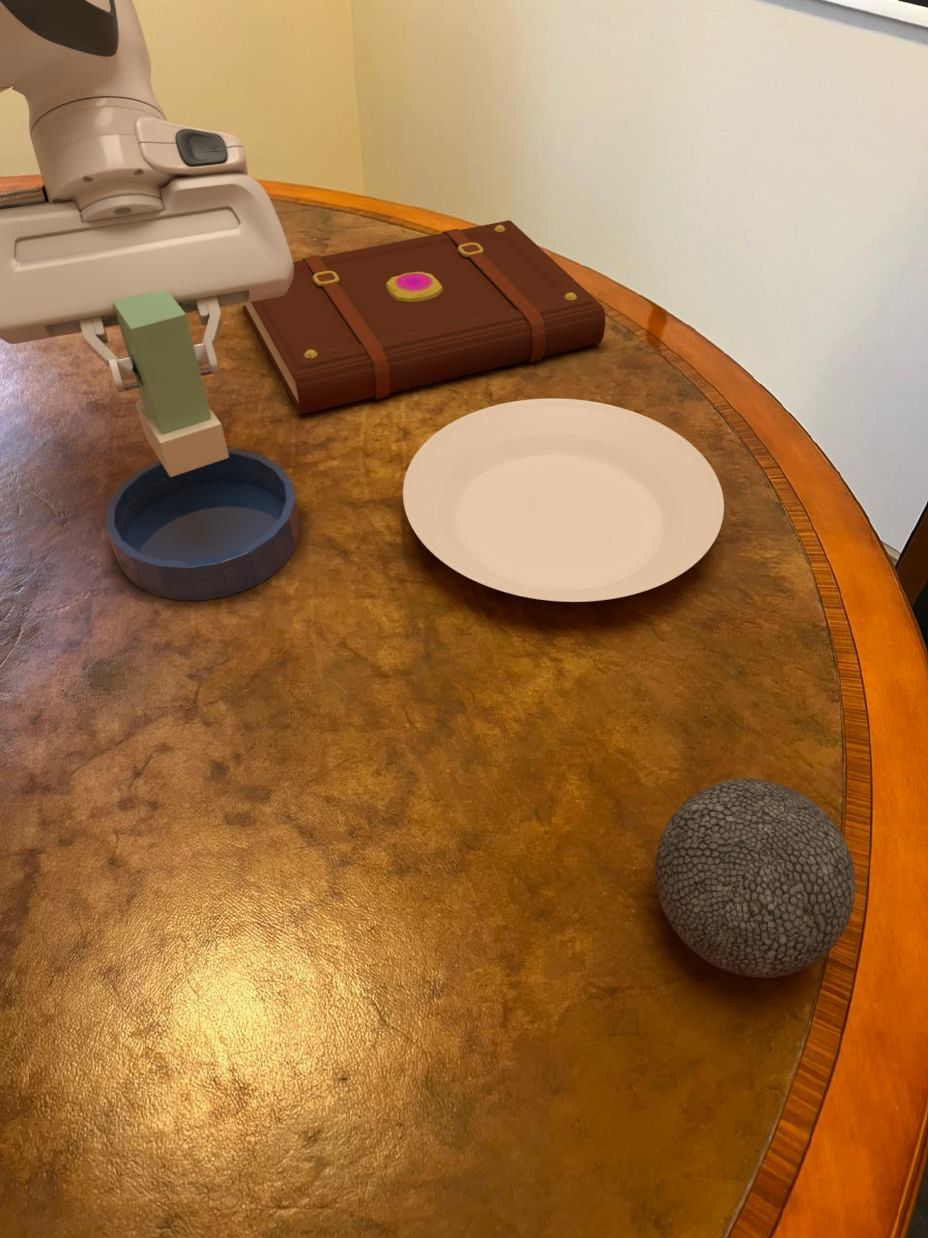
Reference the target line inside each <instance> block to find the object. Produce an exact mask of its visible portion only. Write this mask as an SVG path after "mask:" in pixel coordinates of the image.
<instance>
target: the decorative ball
mask: <svg viewBox="0 0 928 1238" xmlns="http://www.w3.org/2000/svg"><path fill="white" fill-rule="evenodd" d="M656 848H657V849H656V854H655V861H654V862H655V864H654V878H655V879H654V880H655V888H656V893H657V897H658V901H659V904H660V906H661V908H662V911H663V913H664V915H665V917H666V919H667V921H668V923H669V924H670V926H671V928H672V929H673V931H674V932H675V933H676V935H677V936H678V937H679V938H680V939H681V941H683V943H684V944H685V945H686V946H687V947H688V948H689V949H690V950H691V951H693V952H694V953H695V954H696V955H698V956H699V957H700V958H702V959H703V960H705V961H706V962H708V963H709V964H711V965H712V966H715V967H716V968H719V969H721V970H723V971H727V972H729V973H731V974H736V975H738V976H744V977H750V978H758V979H759V978H761V979H767V978H768V979H769V978H778V977H783V976H787V975H790V974H794V973H796V972H800V971H801V970H804V969H806V968H808V967H810V966H812V965H813V964H815V963H817V962H818V961H820V960H821V959H822V958H823V957H824V956H825V955H827V954H828V953H829V952H830V951H831V950H832V949H833V948H834V947H835V946H836V944H837V943H838V942H839V940H840V938H841V937H842V936H843V934H844V932H845V931H846V929H847V927H848V925H849V922H850V920H851V917H852V913H853V910H854V905H855V899H856V898H855V897H856V875H855V868H854V861H853V858H852V855H851V852H850V849H849V846H848V843H847V842H846V840H845V837H844V836H843V834H842V833H841V831H840V829H839V828H838V827H837V825H836V824H835V822H834V821H833V820H832V818H830V817H829V815H828V814H827V813H826V812H825V811H824V810H823V809H822V808H821V807H820V806H819V805H818V804H817V803H815V802H814V801H812V800H811V799H810V798H808V797H807V796H806V795H804V794H802V793H800V792H799V791H797V790H795V789H793V788H790V787H788V786H786V785H783V784H780V783H777V782H774V781H770V780H765V779H760V778H748V777H747V778H746V777H745V778H733V779H727V780H724V781H721V782H718V783H717V782H716V783H714V784H712V785H710V786H708V787H705V788H703V789H701V790H700V791H698V792H696V793H694V794H693V795H692V796H690V797H689V798H688V799H686V800H685V801H684V802H683V803H682V804H681V805H680V806H679V807H678V808H677V809H676V811H675V812H674V813H673V814H672V816H671V817H670V818H669V820H668V821H667V822H666V825H665V827H664V829H663V831H662V832H661V836H660V838H659V841H658V844H657V847H656Z"/></svg>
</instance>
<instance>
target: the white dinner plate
mask: <svg viewBox="0 0 928 1238" xmlns="http://www.w3.org/2000/svg"><path fill="white" fill-rule="evenodd" d="M402 487H403V488H402V497H403V498H402V501H403V505H404V506H403V508H404V511H405V514H406V517H407V520H408V522H409V524H410V527H411V528H412V530H413V531H414V533H415V534H416V536H417V537H418V539H419V540H420V541H421V543H422V544H423V545H424V546H425V547H426V549H427V550H429V551H430V552H431V553H432V554H433V555H434V556H435V557H436V558H437V559H439V560H440V561H441V562H442V563H444V564H445V565H446V566H448V567H449V568H450V569H453V570H454V571H455V572H456V573H459V574H460V575H462V576H464V577H466V578H468V579H470V580H472V581H475V582H476V583H479V584H481V585H484V586H486V587H488V588H492V589H494V590H497V591H500V592H504V593H507V594H511V595H513V596H519V597H523V598H528V599H535V600H543V601H550V602H563V603H565V602H566V603H567V602H570V603H578V602H579V603H581V602H582V603H583V602H584V603H585V602H598V601H605V600H613V599H619V598H623V597H628V596H632V595H636V594H639V593H643V592H646V591H649V590H652V589H655V588H657V587H660V586H662V585H664V584H666V583H668V582H670V581H672V580H673V579H676V578H677V577H679V576H680V575H682V574H684V573H685V572H687V571H688V570H689V569H691V568H692V567H693V566H694V565H695V564H697V563H698V562H699V561H700V560H701V559H702V558H703V557H704V556H705V555H706V554H707V552H708V551H709V550H710V548H711V547H712V546H713V544H714V543H715V541H716V539H717V537H718V535H719V533H720V530H721V527H722V523H723V521H724V512H725V500H724V494H723V489H722V487H721V483H720V481H719V478H718V477H717V474H716V472H715V471H714V469H713V467H712V466H711V464H710V463H709V461H708V460H707V459H706V457H704V455H703V454H702V452H700V451H699V450H698V449H697V448H696V447H695V446H694V445H693V444H692V443H690V441H688V440H687V439H686V438H685V437H683V436H681V434H679V433H677V432H676V431H674V430H673V429H672V428H670V427H667V426H666V425H665V424H662V423H661V422H658V421H656V420H654V419H653V418H650V417H648V416H645V415H643V414H640V413H638V412H635V411H632V410H629V409H626V408H622V407H619V406H615V405H611V404H607V403H602V402H597V401H591V400H584V399H575V398H574V399H573V398H531V399H530V398H529V399H522V400H515V401H509V402H504V403H499V404H495V405H492V406H488V407H485V408H481V409H479V410H476V411H474V412H471V413H468V414H466V415H464V416H461V417H459V418H457V419H456V420H454V421H452V422H450V423H449V424H447V425H445V426H444V427H442V428H441V429H439V430H437V432H435V434H433V435H432V436H431V437H430V438H429V439H427V440H426V441H425V442H424V444H423V445H422V446H420V448H419V449H418V450H417V452H416V453H415V455H414V456H413V458H412V460H411V461H410V463H409V465H408V468H407V470H406V473H405V476H404V480H403V485H402Z"/></svg>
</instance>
